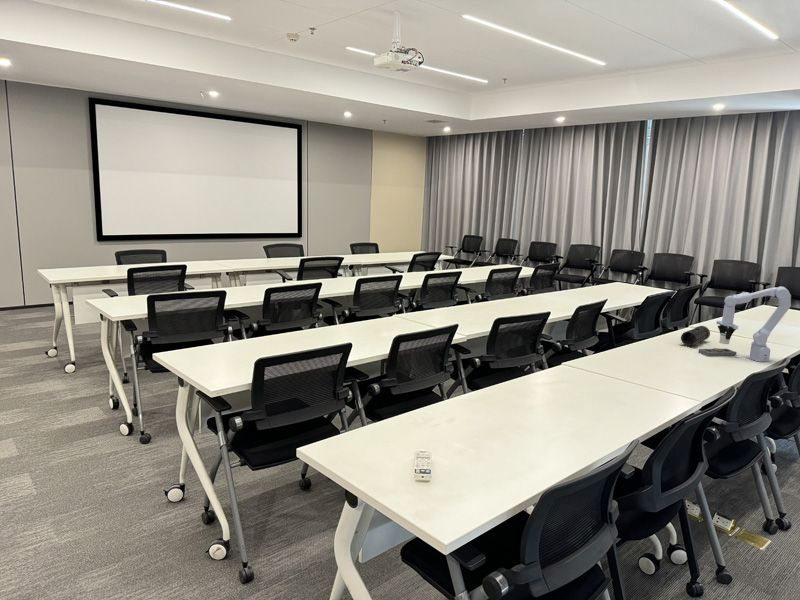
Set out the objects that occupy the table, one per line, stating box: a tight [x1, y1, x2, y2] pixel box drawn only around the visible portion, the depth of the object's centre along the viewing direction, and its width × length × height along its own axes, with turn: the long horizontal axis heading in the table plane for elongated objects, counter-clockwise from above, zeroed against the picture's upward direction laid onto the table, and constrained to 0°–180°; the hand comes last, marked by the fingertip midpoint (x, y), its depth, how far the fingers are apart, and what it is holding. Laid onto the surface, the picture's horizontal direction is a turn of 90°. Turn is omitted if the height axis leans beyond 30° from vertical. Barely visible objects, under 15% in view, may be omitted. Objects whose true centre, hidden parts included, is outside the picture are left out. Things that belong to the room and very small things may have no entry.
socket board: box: [697, 348, 738, 357], centre depth 321 cm, size 8×19×3 cm, turn 100°
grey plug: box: [718, 333, 731, 345], centre depth 321 cm, size 4×4×6 cm
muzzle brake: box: [680, 325, 711, 348], centre depth 346 cm, size 10×28×10 cm, turn 134°
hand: (725, 338), depth 321 cm, fingers closed on grey plug, 4 cm apart
